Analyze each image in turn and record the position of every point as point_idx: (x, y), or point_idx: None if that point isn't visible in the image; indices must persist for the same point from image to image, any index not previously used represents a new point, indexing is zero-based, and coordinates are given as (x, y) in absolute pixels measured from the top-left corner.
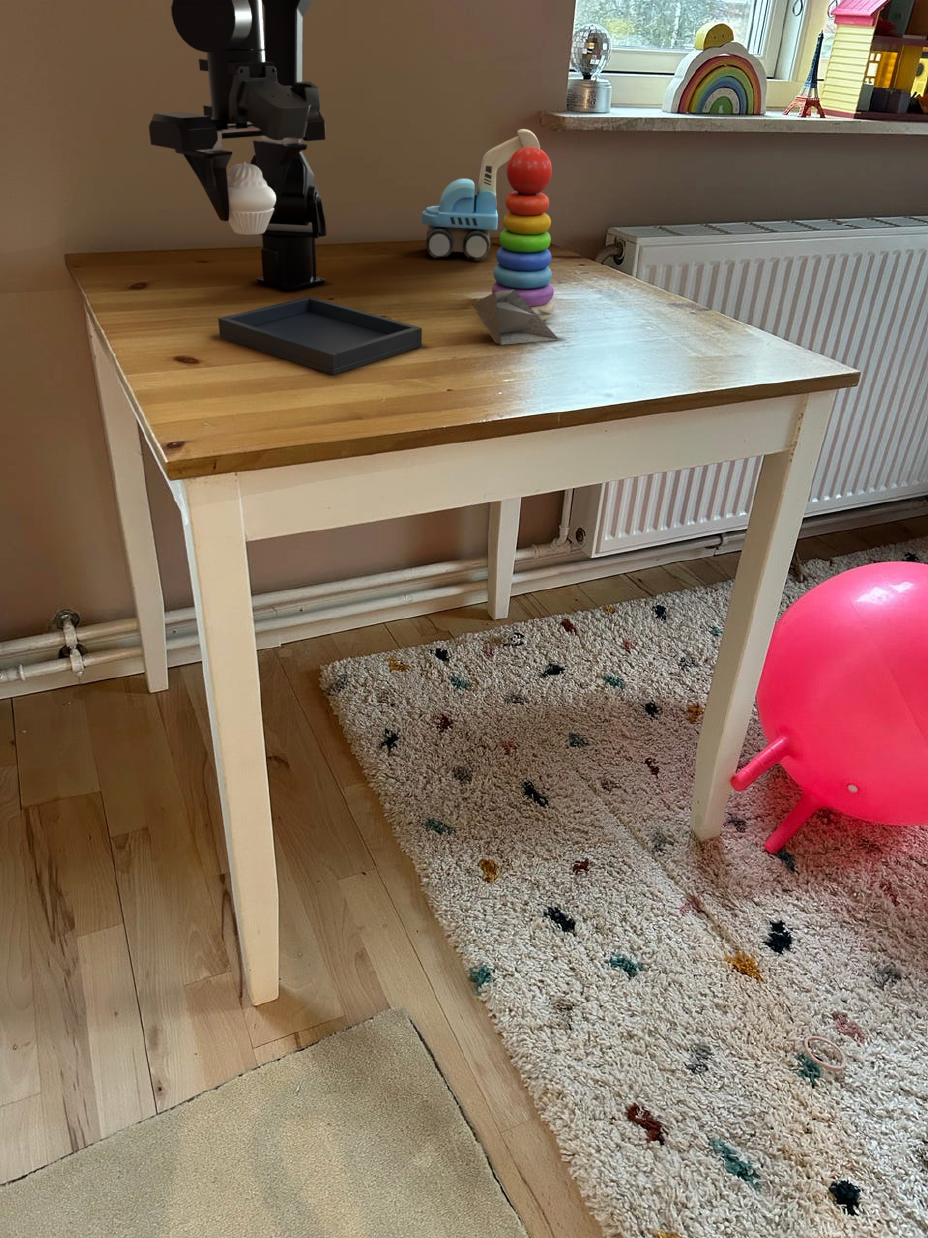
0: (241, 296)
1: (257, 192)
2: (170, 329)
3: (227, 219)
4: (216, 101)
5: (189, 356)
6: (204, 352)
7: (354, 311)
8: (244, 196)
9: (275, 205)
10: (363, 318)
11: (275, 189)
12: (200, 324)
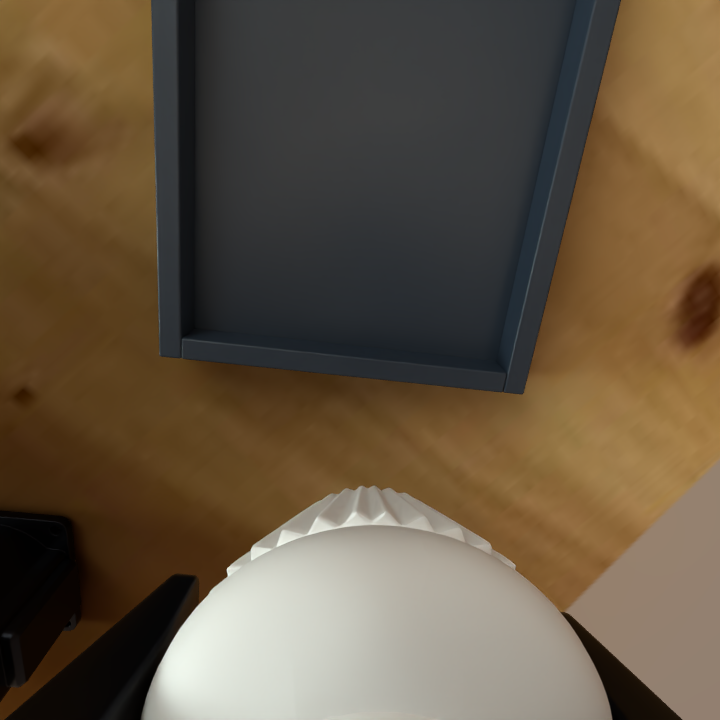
0: (196, 569)
1: (470, 662)
2: (517, 502)
3: (564, 612)
4: None
5: (672, 325)
6: (626, 319)
7: (179, 109)
8: (583, 672)
9: (163, 607)
10: (184, 63)
11: (112, 711)
12: (444, 482)
